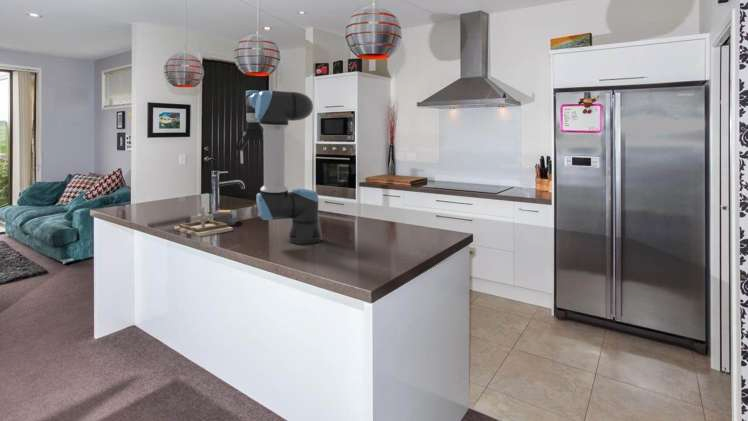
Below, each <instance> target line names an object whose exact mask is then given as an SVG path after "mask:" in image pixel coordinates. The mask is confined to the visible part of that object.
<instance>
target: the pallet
mask: <svg viewBox="0 0 748 421" xmlns="http://www.w3.org/2000/svg"><path fill="white" fill-rule="evenodd" d="M173 228H174V229H173V230H175V231H177V232H181V233H184V234H188V235H192V236H195V237H199V238H200V237H205V236H210V235H215V234H221V233H226V232H233V231H234V228H233V227H232V226H229V225H227V224H225V223H221V222H217V221H213V219H208V220H205V227H204V228H202V227H201V220H197V221H192V222H187V223H180V224H179V226H173Z"/></svg>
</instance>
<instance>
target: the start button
mask: <svg viewBox="0 0 748 421" xmlns="http://www.w3.org/2000/svg"><path fill="white" fill-rule="evenodd" d="M219 210H220V211H218V212H217V213H230V212H232V210H233V209H219Z"/></svg>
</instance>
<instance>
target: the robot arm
mask: <svg viewBox="0 0 748 421" xmlns="http://www.w3.org/2000/svg"><path fill="white" fill-rule="evenodd" d="M313 108H314V104H313V100H312V99H311V97H309V95H306V94H305V93H301V92H298V91H297V92H296V91H282V90H281V91H280V90H270V89H269V90H261V91H260V90H251V89H249V90H246V91H245V109H246V110H245V111H246V117H245V118H246V131H244V130H241V131H240V133H239V134H240V135H239V137H238V140H237V141H236V144H235V146H234V148H233V149H234V150H236V151H238V152H237V156H238V158H240V165H242V164H244V152H243V148H244V147H245V146H246V145H247V144H248V142H249V141H250V140H251V141H260V142H261V144H263V185H262V186H261V187H260V192H258V193H256V196H255V197H256V199H255V200H256V207H257V211H258V214H259V217H260V218H261V219H262V220H263V221H274V220H276V221H277V220H290V219H291V221H292V222H291V227H290V230H289V233H288V242H289V243H291V244H297V245H312V244H311V243H313V244H317V243H316V242H318V243H321V242H322V241H323V234H322V233H323V232H322V230H321V228H320V225H319V203H320V201H319V194H318V192H316V191H315V190H313V189H306V188H292V189H291V190H290V191H289V189H288V187H287V186H286V185H285V134H286V133H285V130H286V128H287V127H288V126H289V121H290V122H291V121H294V122H295V121H296V122H297V121H301V120H305V119H306V118H307V117H309V116H310V115H311V114H312V113H313ZM245 135H246V139H245V140H244V141H243V142H242V140H243V138H244V136H245ZM262 136H263V138H262ZM241 143H242V144H241ZM240 144H241V145H240ZM321 240H322V241H321ZM320 241H321V242H320Z"/></svg>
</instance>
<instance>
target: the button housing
mask: <svg viewBox="0 0 748 421" xmlns="http://www.w3.org/2000/svg"><path fill="white" fill-rule="evenodd" d="M220 210H221V209H217V210H215V211H214V212H213V213H212V214H213V215H214V217H213V218H212V221H217V222H221V223H225V224H227V226H234V225H235V224H237V223H238V221H239V219H238V217H237V216H238V215H237V214H238V213H237V209H231V210H232V212H230V213H217V212H218V211H220Z"/></svg>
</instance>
